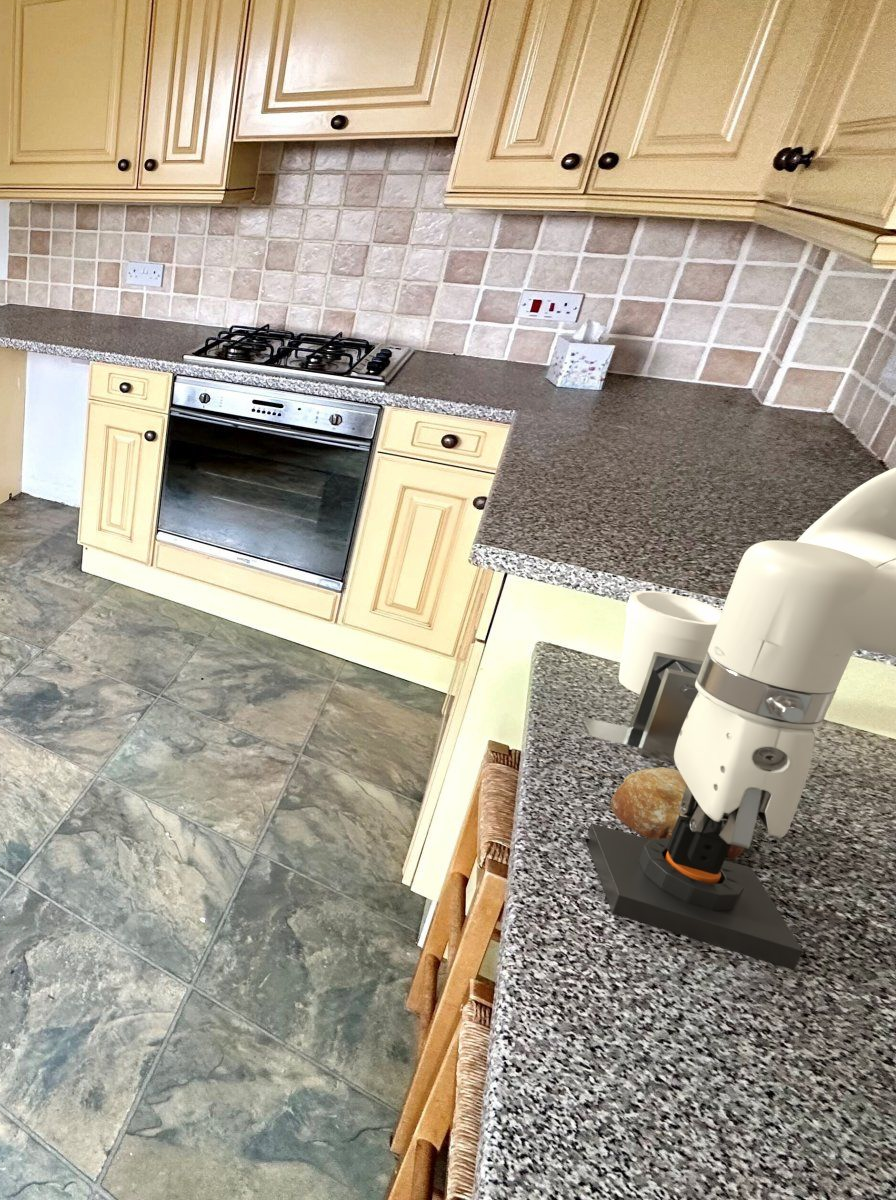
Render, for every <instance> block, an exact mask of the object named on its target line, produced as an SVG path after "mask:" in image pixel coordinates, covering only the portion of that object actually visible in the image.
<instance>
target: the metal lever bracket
mask: <svg viewBox="0 0 896 1200" xmlns="http://www.w3.org/2000/svg"><path fill="white" fill-rule="evenodd" d="M675 662H678V663H680V664H681V665H683V666H684V667H685V668H687V669H688V670H690V671H691V672H693V673H694V674H692V673H687V672H682V671H677V670H672V669H667V667H669V666H670V665H672V664H673V663H675ZM702 664H703V661H700V660H695V659H690V658H685V657H679V656H674V655H669V654H664V653H659V652H654V654H653V657H652V660H651V663H650V666H649V669H648V672H647V675H646V678H645V681H644V684H643V687H642V690H641V692H640V695H639V694H638V695H639V696H638V698H637V700H636V704H635V708H634V710H633V714H632V716H631V719H630V722H629V725H628V726H624V725H620V724H615V723H611V722H607V721H602V720H598V719H593V718H590V717H589V718H588V717H585V716H582V717H581V720H580V721H581V723H582V725H583V728H584V730H585V732H586V734H587V736H588V737H592V738H596V739H600V740H605V741H609V742H613V743H616V744H617V743H618V744H621V745H625V746H630V747H633V748H637V753H638V755H639V756H641V757H645V758H650V759H653V760H654V759H655V760H657V761H662V762H666V763H671V764H675V760H674V751H675V747H676V743H677V740H678V737H679V734H680V731H681V729H682V726H683V724H684V721H685V719H686V717H687V714H688V712H689V710H690V708H691V706H692V704H693V702H694V700H695V698H696V696H697V694H698V690H697V689H696V687H695V682H696V680H697V677H698V675H699V672H700V669H701V667H702ZM665 669H666V670H665ZM663 670H665V672H664V675H663V678H662V681H661V679H660V678H659V676H658V674H659V673H660V672H662V671H663ZM675 765H676V764H675Z"/></svg>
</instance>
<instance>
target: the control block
mask: <svg viewBox="0 0 896 1200" xmlns="http://www.w3.org/2000/svg"><path fill="white" fill-rule="evenodd" d="M587 835H588V838H587V837H586V838H585V840H584V841H585V844H586V846H587V849H588V853H589V854H590V857H591V860H592V863H593V865H594V868H595V871H596V874H597V876H598V880H599V882H600V884H601V887H602V890H603V893H604V895H605V898H606V901H607V903H608V906H609V909H610V911H611V914H613V915H616V916H619V917H622V918H626V919H629V920H632V921H636V922H638V923H641V924H644V925H648V926H651V927H654V928H658V929H661V930H664V931H666V932H670V933H674V934H677V935H680V936H683V937H686V938H689V939H692V940H695V941H699V942H702V943H705V944H708V945H712V946H715V947H718V948H721V949H724V950H727V951H730V952H734V953H737V954H740V955H743V956H746V957H749V958H753V959H756V960H759V961H762V962H766V963H768V964H771V965H775V966H779V967H782V968H785V969H787V970H791V971H795V969H796V967H797V965H798V963H799V961H800V958H801V956H802V954H803V952H804V951H803V948H802V947H801V945H800V944H799V942H798V940H797V939H796V937H795V935H794V934H793V932H792V931H791V929H790V927H789V926H788V924H787V923H786V921H785V920H784V918H783V916H782V914H781V913H780V911H779V910H778V908H777V906H776V905H775V904H774V902H773V900H772V898H771V896H770V895H769V894H768V892H767V889H765V887H764V885H763V883H762V882H761V880H760V879H759V877H758V876H757V874H756V872H755V871H754V869H753V868H752V867H751V866H747V865H744V864H740V863H736V862H733V861H729V860H727V859H725V860H724V863H723V865H722V867H721V870H720V872H721V877H720V880H719V882H718V884H709V883H705V882H702V881H698V880H695V879H692V878H690V877H688V876H686V875H684V874H682V873H680V872H678V871H677V870H675V869H674V868H673V867H672V866H671V865H669V864H668V863H667V862H666V861H665V857H666V854H667V852H668V850H667V845H668V843H669V840H670V839H668V838H665V839H649V838H646V837H644V836H639V835H636V834H631V833H628V832H624V831H621V830H617V829H614V828H610V827H607V826H603V825H599V824H595V823H593V822H592V823H590V825H589V828H588V831H587Z"/></svg>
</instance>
